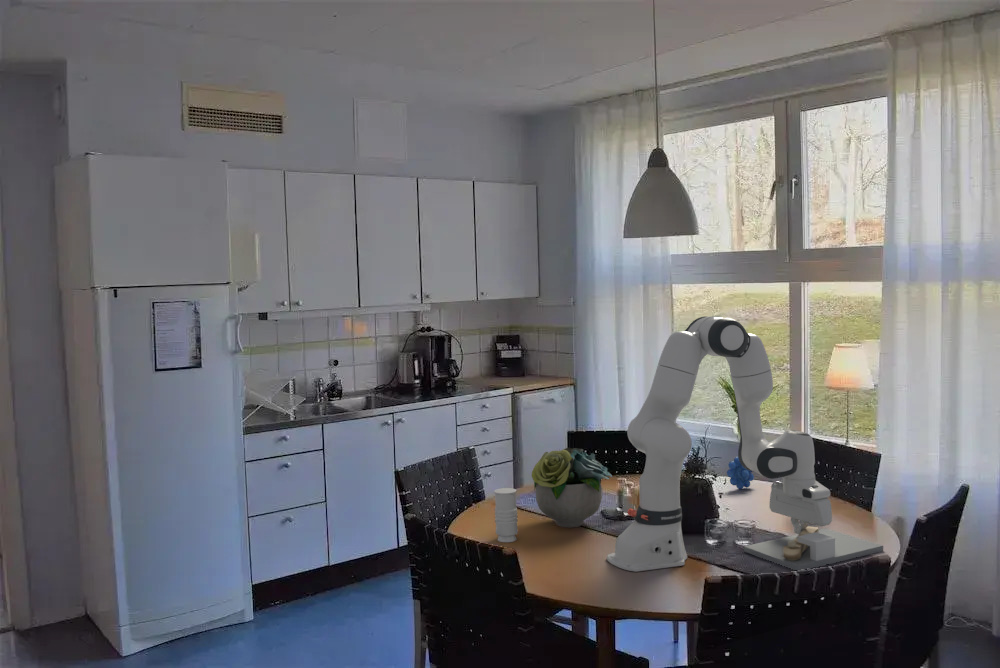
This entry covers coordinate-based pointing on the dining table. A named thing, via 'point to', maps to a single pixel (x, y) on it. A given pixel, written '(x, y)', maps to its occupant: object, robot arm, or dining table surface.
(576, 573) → the dining table surface
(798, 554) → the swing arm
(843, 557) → the base
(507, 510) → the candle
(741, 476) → the grapes
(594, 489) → the flower arrangement
